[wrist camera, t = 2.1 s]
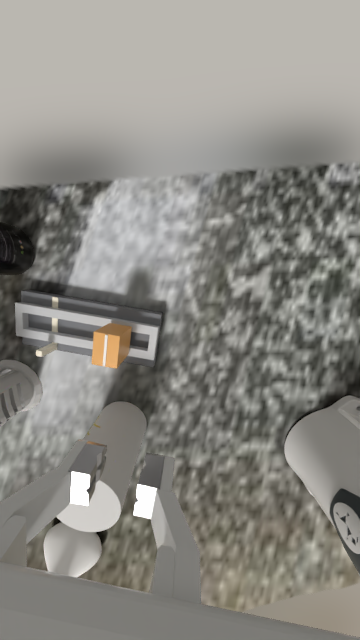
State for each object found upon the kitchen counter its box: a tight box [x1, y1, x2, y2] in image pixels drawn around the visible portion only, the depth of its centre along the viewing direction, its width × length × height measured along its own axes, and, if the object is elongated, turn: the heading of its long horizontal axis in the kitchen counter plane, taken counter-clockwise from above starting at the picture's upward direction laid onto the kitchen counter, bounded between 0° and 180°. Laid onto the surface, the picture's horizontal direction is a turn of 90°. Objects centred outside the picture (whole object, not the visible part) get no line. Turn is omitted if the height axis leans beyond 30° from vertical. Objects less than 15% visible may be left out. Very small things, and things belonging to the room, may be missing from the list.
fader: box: [92, 323, 132, 369], centre depth 24 cm, size 3×4×6 cm
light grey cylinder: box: [56, 401, 147, 532], centre depth 26 cm, size 8×8×12 cm
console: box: [15, 290, 163, 367], centre depth 27 cm, size 20×8×5 cm, turn 81°
